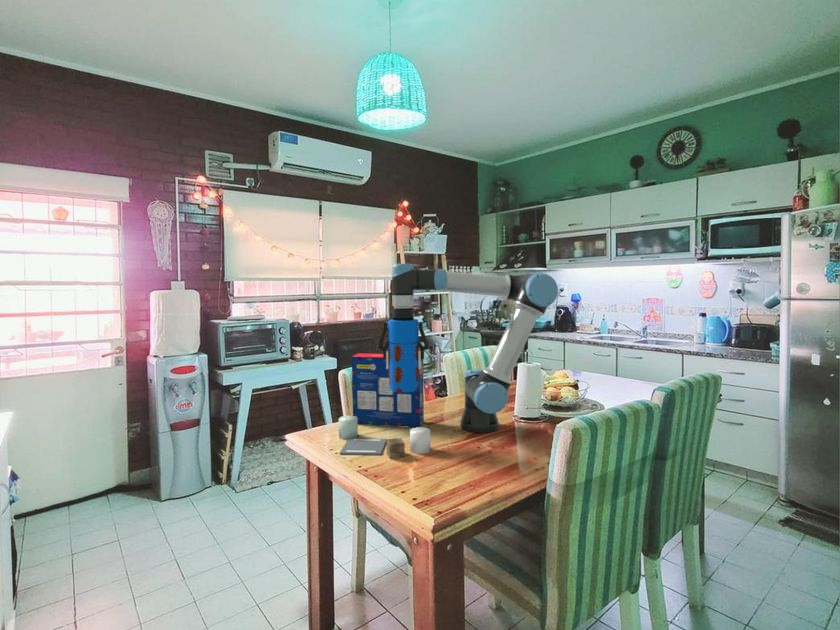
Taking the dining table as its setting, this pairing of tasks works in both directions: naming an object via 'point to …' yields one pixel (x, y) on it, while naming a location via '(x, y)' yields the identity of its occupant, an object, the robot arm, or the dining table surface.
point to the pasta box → (383, 395)
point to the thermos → (403, 355)
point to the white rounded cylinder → (420, 440)
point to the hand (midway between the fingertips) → (403, 368)
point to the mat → (363, 446)
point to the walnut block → (395, 448)
